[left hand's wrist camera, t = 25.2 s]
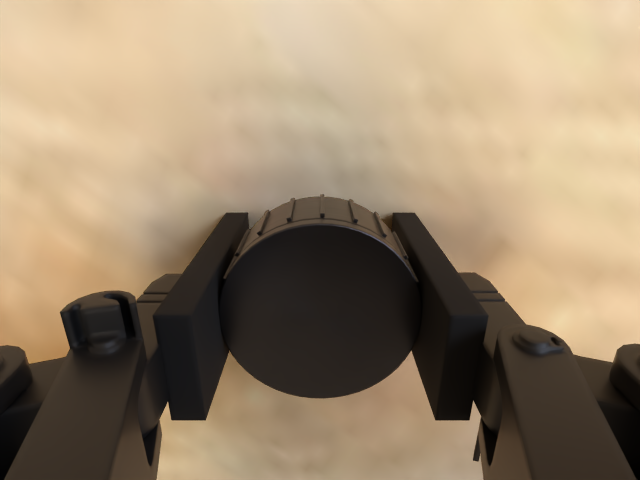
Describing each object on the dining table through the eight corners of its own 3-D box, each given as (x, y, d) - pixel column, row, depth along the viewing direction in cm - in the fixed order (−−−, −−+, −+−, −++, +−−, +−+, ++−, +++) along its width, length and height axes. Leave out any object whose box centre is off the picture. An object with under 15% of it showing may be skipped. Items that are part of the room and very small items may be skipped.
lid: (208, 307, 13) (185, 355, 10) (281, 161, 11) (271, 181, 9) (351, 369, 13) (358, 426, 11) (439, 244, 12) (467, 281, 10)
